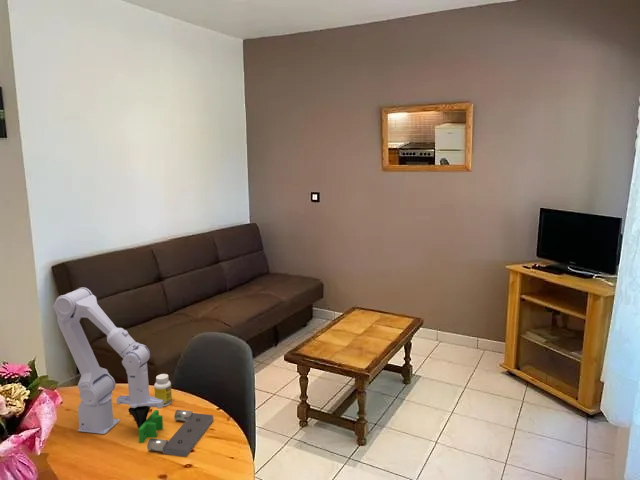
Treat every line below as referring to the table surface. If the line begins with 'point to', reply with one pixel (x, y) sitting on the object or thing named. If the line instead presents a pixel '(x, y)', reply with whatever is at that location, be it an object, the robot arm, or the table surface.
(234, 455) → the table surface
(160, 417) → the green notched block
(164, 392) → the supplement bottle
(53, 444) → the table surface
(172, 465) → the table surface
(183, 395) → the table surface
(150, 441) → the fixed leaf
